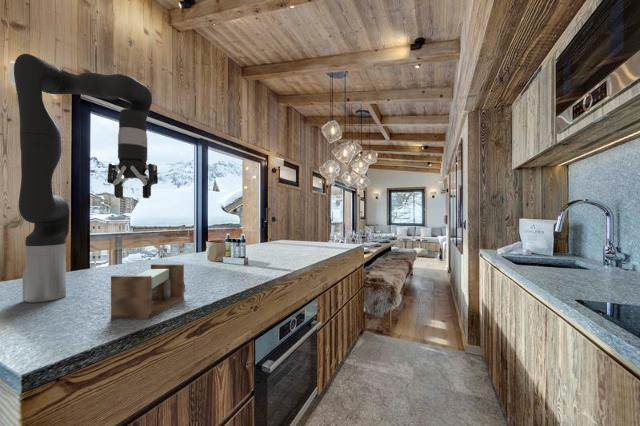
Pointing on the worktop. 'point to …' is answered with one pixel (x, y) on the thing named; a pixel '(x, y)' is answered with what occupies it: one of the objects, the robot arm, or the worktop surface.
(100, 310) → the worktop surface
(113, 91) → the robot arm
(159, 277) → the shelf board
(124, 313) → the peg cradle
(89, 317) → the worktop surface
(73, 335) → the worktop surface
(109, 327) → the worktop surface
